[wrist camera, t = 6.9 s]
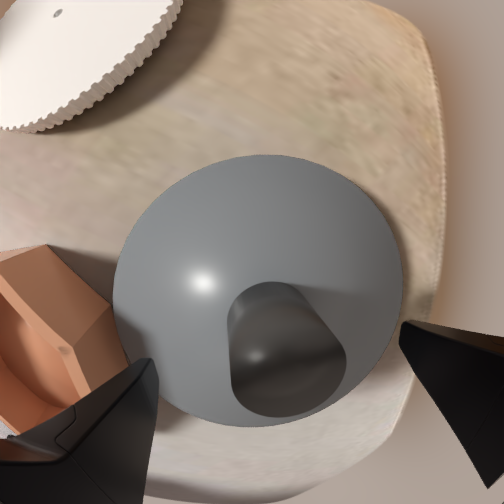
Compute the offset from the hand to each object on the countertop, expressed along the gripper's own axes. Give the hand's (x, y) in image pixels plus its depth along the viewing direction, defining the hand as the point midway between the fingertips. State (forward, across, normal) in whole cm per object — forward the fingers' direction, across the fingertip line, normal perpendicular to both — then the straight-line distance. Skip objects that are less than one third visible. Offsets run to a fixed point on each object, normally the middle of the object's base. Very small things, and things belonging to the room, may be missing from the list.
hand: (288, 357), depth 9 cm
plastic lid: (+6, +10, -17) cm, 20 cm away
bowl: (+5, +14, +2) cm, 15 cm away
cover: (+4, 0, 0) cm, 4 cm away
